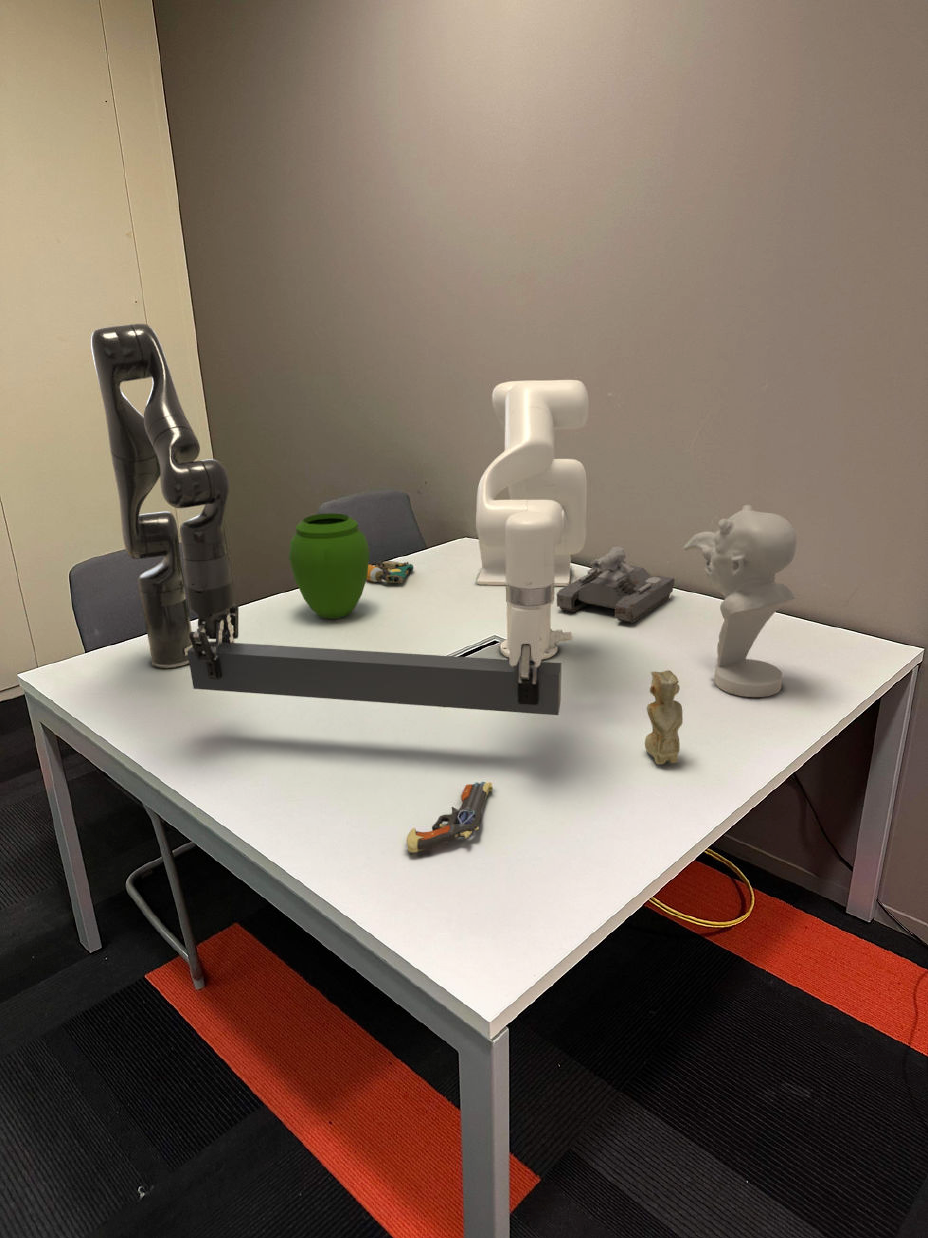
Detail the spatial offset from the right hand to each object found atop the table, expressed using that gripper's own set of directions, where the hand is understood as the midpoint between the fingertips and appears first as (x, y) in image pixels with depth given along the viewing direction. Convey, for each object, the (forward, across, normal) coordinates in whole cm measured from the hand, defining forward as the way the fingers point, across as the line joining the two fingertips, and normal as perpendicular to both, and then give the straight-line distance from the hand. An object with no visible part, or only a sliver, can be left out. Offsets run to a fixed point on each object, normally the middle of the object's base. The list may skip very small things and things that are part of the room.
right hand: (530, 694), depth 140 cm
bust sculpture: (+13, -37, +36) cm, 53 cm away
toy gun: (+12, +20, -9) cm, 25 cm away
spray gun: (+16, -95, -51) cm, 109 cm away
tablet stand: (+16, -100, -14) cm, 103 cm away
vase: (+15, -64, -57) cm, 87 cm away
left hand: (-1, 0, -54) cm, 54 cm away
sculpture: (+12, -4, +22) cm, 25 cm away
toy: (+15, -79, +12) cm, 81 cm away
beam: (+2, 0, -27) cm, 27 cm away
